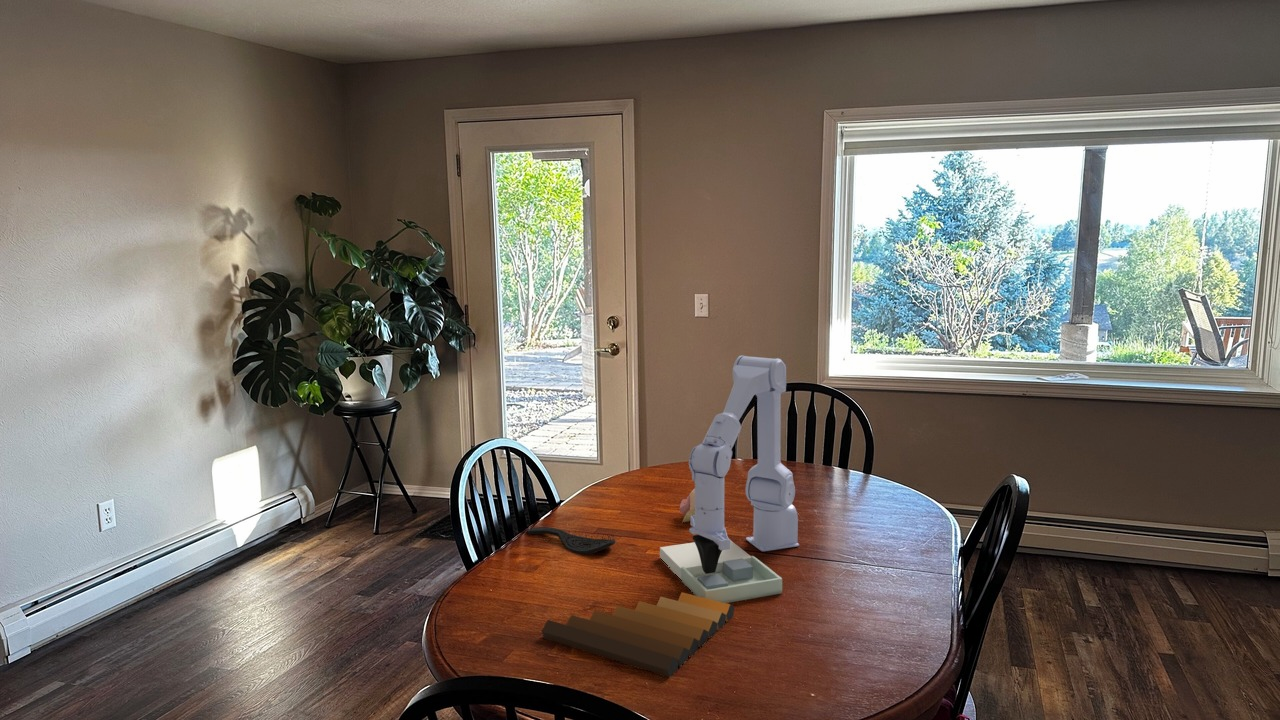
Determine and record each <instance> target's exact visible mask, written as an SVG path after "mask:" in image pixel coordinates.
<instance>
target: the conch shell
mask: <svg viewBox="0 0 1280 720" xmlns="http://www.w3.org/2000/svg"><path fill="white" fill-rule="evenodd" d="M679 511H680V513H681V514H682V515H683V516H684V518H683V520H682V522H681V524H683V522H684V523H687V522H690V516H694V515H695V487H694V488H693V489H692V491H691V492H690V493H689V494H688V496H687V497H686V498H683V499H682V500H681V502H680V504H679Z"/></svg>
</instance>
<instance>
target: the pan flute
mask: <svg viewBox="0 0 1280 720" xmlns="http://www.w3.org/2000/svg"><path fill="white" fill-rule="evenodd" d="M734 613H735V606H733V604H730V603H723V602H719V601H715V600H711V599H707V598H703V597H699V596H695V595H694V594H690V593H686V592H681V593H680V595H679V598H678V599H677V600H675V599H673V598H672V599H671V598H668V597H664V596H660V597H659V600H658V602H657V603H656V604H652V603H648V602H644V601H640V600H639V601H638V603H637V605H636V606H635V609H631V608H627V607H623V606H621V605H616V607H615V608H614V611H613V613H612V614H609V613H606V612H603V611H598V610H596V609H595V610H594V611H593V612H592V614H591V615H590V618H589V619H587V618H583V617H579V616H576V615H572V614H571V615H570V617H569V618H568V621H567V623H566V624H563V623H559V622H555V621H553V620H550V619H547V621H546V623H545V624H544V626H543V628H542V630H541V633H542V637H543V639H545V640H546V641H547V640H548V641H551V642H554V643H557V644H561V645H565V646H567V647H570V648H573V647H574V648H573V649H576V648H577V650H579V649H580V650H579V651H582V650H584V651H583V652H586V651H587V652H586V653H589V652H590V653H589V654H592V653H593V655H595V654H597V655H596V656H598V655H600V656H599V657H602V656H603V657H602V658H605V657H607V658H606V659H608V658H609V660H611V659H613V660H612V661H614V660H616V661H615V662H617V661H620V662H619V663H621V662H622V663H621V664H624V663H626V664H625V665H627V664H629V665H628V666H630V665H632V666H631V667H633V666H636V667H635V668H637V667H639V668H638V669H640V668H642V669H641V670H643V669H646V670H648V671H647V672H649V671H652V672H655V673H654V674H656V673H658V674H657V675H659V674H661V675H660V676H662V675H664V676H663V677H665V676H667V677H666V678H668V677H670V676H671V675H672V676H673V675H674V674H675V673H676V672H678V668H681V667H682V666H683V665H685V664H684V662H685V661H687V659H688V660H689V658H690V657H691V656H692V655H693V654H694V653H695V652H696V651H697V650H698V651H699V648H698V647H701V646H702V645H703V644H704V643H705V642H706V643H708V640H709V639H708V638H710V637H711V636H712V637H714V636H715V635H714V634H715V633H716V634H717V631H720V630H721V629H722V628H723V627H724V626H725V625H726V623H729V622H730V620H731V619H732V618H733V617H734ZM725 621H726V622H725ZM723 625H724V626H723ZM722 626H723V627H722ZM721 627H722V628H721ZM720 628H721V629H720ZM717 629H718V630H717ZM719 629H720V630H719ZM712 637H711V638H712ZM711 638H710V639H711ZM706 643H705V644H706ZM705 644H704V645H705ZM704 645H703V646H704ZM703 646H702V647H703ZM702 647H701V648H702ZM698 651H697V652H698ZM697 652H696V653H697ZM696 653H695V654H696ZM695 654H694V655H695ZM694 655H693V656H694ZM688 656H690V657H688ZM693 656H692V657H693ZM692 657H691V658H692ZM687 662H688V661H687ZM682 664H683V665H682ZM681 665H682V666H681ZM678 666H679V667H678ZM680 666H681V667H680ZM646 670H645V671H646ZM675 671H676V672H675ZM652 672H651V673H652ZM674 672H675V673H674ZM673 673H674V674H673ZM672 676H671V677H672ZM671 677H670V678H671Z"/></svg>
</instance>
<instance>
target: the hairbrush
mask: <svg viewBox="0 0 1280 720" xmlns="http://www.w3.org/2000/svg"><path fill="white" fill-rule="evenodd" d="M526 533H527V534H528V535H551V536H555V537H558V539H559V540H560V542H561V543H562V545H563V547H564V548H565V549H566V550H568V551H570V552H571V553H575V554H578V555H589V554H594V553H597V552H600V551H602V550H605V549H607V548H609V547H611V546H614V545H615V544H616V539H615V538H614V537H615V535H613V534H611V535H608V534H607V535H604V534H602V537H601V538H599V537H600V534H597V536H596V534H593V533H592V536H591V537H590V533H585V537H584V536H583V532H581V533H578V535H577V534H574V533H572V534H571V533H570V530H568V532H567V531H565V530H562V529H558V528H555V527H550V526H538V527H532V528H529V529H526ZM575 533H577V532H576V530H575ZM593 536H595V538H593ZM604 537H606V538H604Z"/></svg>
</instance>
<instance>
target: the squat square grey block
mask: <svg viewBox="0 0 1280 720" xmlns="http://www.w3.org/2000/svg"><path fill="white" fill-rule="evenodd" d="M723 574H724V575H726V576H727V577H728V578H729V579H730V580H731V581H733V582H735V581H740V580H746V579H752V578H753V566H752V565H751V564H749V563H748V562H747V561H745V560H744V559H743V558H741V559H735V560H729V561H723Z"/></svg>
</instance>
